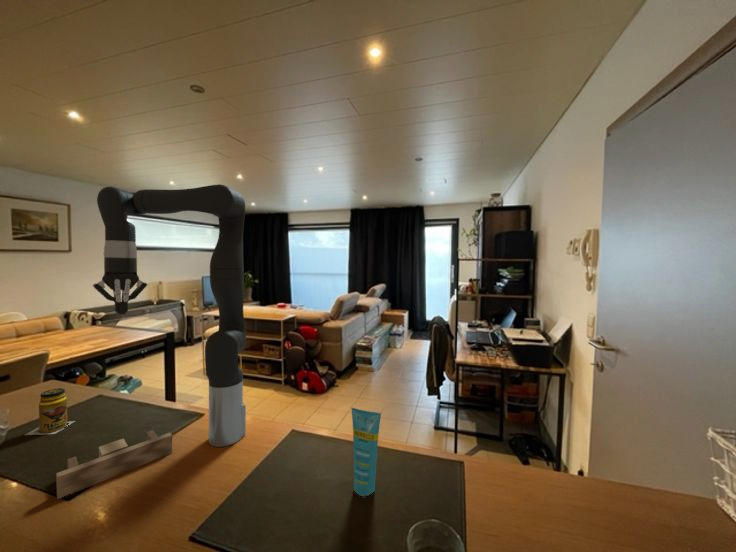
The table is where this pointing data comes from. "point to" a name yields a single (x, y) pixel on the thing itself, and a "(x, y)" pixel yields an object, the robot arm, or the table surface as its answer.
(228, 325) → the robot arm
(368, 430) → the tube
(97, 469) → the wooden plank
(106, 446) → the block
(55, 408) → the condiment
